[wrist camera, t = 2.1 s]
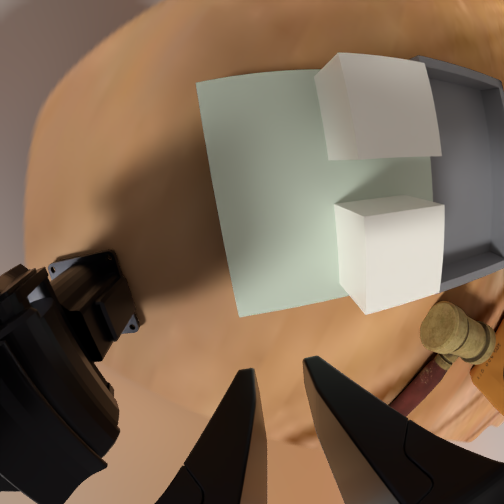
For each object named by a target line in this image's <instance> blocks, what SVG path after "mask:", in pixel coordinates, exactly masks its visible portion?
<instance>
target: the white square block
mask: <svg viewBox="0 0 504 504" xmlns="http://www.w3.org/2000/svg"><path fill="white" fill-rule="evenodd" d="M334 210H335V221H336V233H337V246H338V262H339V283H340V285H341V286H342V287H343V288H344V290H345V291H346V292H347V293H348V294H349V295H350V297H351V298H352V299H353V300H354V301H355V303H356V304H357V305H358V306H359V307H360V309H361V310H362V311H363V312H364V314H365V315H367V314H370V313H374V312H378V311H381V310H385V309H388V308H392V307H395V306H399V305H402V304H405V303H408V302H412V301H415V300H418V299H421V298H424V297H427V296H430V295H433V294H436V293H439V291H440V283H441V274H442V263H443V250H444V225H445V205H443V204H439V203H436V202H432V201H428V200H424V199H420V198H416V197H412V196H407V195H399V196H391V197H383V198H375V199H367V200H359V201H352V202H345V203H338V204H334Z"/></svg>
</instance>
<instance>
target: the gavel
mask: <svg viewBox="0 0 504 504" xmlns="http://www.w3.org/2000/svg"><path fill="white" fill-rule="evenodd" d="M420 339H421V342H422V344H423V346H424V347H425V348H426V349H428V350H430V351H433V352H436V353H438V354H437V355H436V357H435V358H434V359H433V360H432V361H430V362H429V363H428V364H427V365H426V366H425V367H424V368H423V370H422V371H421V372H420V373H419V374H418V375H417V377H416V378H415V379H414V380H413V381H412V382H411V383H410V384H409V385H408V387H407V388H406V389H405V390H404V391H403V392H402V393H401V394H400V395H399V396H398V397H397V398H396V399H395V400H394V401H393V402H392V403H391V404H390V405H389V406H390V407H392V408H393V409H395V410H396V411H398V412H399V413H401V414H402V415H404V416H405V417H406V416H407V415H408V414H409V413H410V412H411V411H412V410H413V409H414V408H415V407H416V406H417V405H418V404H419V403H420V402H421V401H422V400H423V399H424V398H425V397H426V396H427V395H428V394H429V393H430V392H431V391H432V390H433V389H434V388H435V386H436V385H437V384H438V383H439V382H440V381H441V380H442V378H443V377H444V375H445V373H446V372H447V370H448V369H449V368H450V366H451V365H452V362H455V361H456V359H457V358H458V357H461V359H462V360H463V361H465V362H468V363H471V364H475V365H476V364H481V363H483V362H485V361H486V360H487V359H488V358H489V357H490V356H491V355H492V353H493V351H494V348H495V345H496V336H495V332H494V330H493V329H492V328H491V327H490V326H489V325H487V324H485V323H484V322H481V321H475V320H473V319H471V318H470V317H468V316H466V315H465V312H464V311H463V310H462V309H461V308H459V307H458V306H456V305H454V304H453V303H451V302H448V301H440V302H438V303H436V304H434V306H433V307H432V308H431V309H430V311H429V312H428V314H427V316H426V317H425V319H424V321H423V322H422V324H421V327H420Z"/></svg>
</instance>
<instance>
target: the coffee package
mask: <svg viewBox="0 0 504 504" xmlns="http://www.w3.org/2000/svg"><path fill="white" fill-rule="evenodd" d="M495 336H496V345H495V348H494V351H493V353H492V355H491V356H490V357H489V358H488V359H487V360H486V361H485V362H483V363H481V364H476V365H475V366H474V367H473V368H472V370H471V371H470V375H471V377H472V382H473V384H474V385H475V386H476V387H477V388H478V389H479V390H480V391H481V392H482V393H483V394H484V396H485V397H486V398H487V399H488V400H489V401H490V403H491V404H492V405H493V406H494V407H495V408H496V409H497V410H498V411H499V412H500V413H501V414H502V415H503V416H504V319H503V320H502V322H501V324H500V326H499V328H498V330H497V331H496V333H495Z"/></svg>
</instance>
